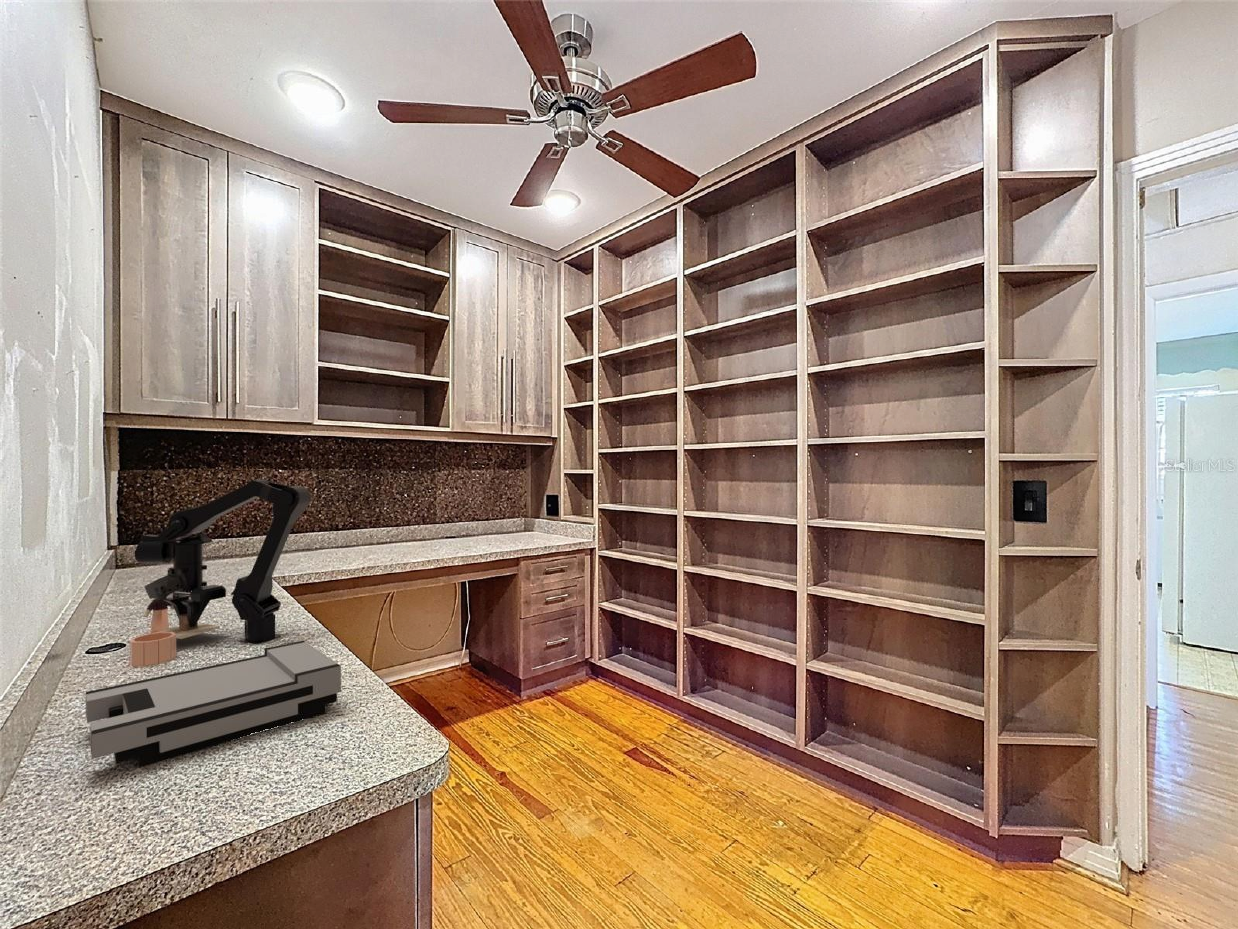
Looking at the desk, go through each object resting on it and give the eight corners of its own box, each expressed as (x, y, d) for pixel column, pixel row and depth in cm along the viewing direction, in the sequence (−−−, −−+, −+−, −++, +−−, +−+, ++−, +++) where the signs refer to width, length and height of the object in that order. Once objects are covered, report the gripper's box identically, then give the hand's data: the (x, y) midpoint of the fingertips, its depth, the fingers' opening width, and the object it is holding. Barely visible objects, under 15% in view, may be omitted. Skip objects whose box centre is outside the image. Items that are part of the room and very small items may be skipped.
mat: (230, 638, 142) (230, 636, 142) (179, 653, 131) (179, 651, 131) (197, 633, 147) (197, 631, 147) (145, 647, 135) (145, 646, 135)
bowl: (184, 658, 128) (184, 633, 128) (144, 670, 120) (144, 644, 120) (161, 654, 130) (161, 630, 130) (121, 666, 123) (121, 640, 123)
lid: (219, 628, 142) (219, 611, 142) (181, 638, 133) (181, 621, 133) (194, 625, 145) (194, 608, 145) (155, 635, 136) (155, 617, 136)
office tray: (85, 735, 92) (85, 684, 92) (304, 681, 114) (303, 640, 114) (92, 786, 77) (91, 725, 77) (341, 712, 100) (340, 665, 100)
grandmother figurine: (156, 638, 143) (155, 587, 143) (141, 638, 143) (140, 587, 143) (180, 629, 151) (180, 581, 151) (166, 629, 151) (165, 581, 151)
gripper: (125, 565, 134) (125, 632, 134) (178, 570, 128) (179, 640, 128) (175, 558, 145) (176, 619, 145) (227, 562, 139) (227, 626, 139)
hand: (188, 626), depth 139 cm, fingers closed on lid, 3 cm apart
